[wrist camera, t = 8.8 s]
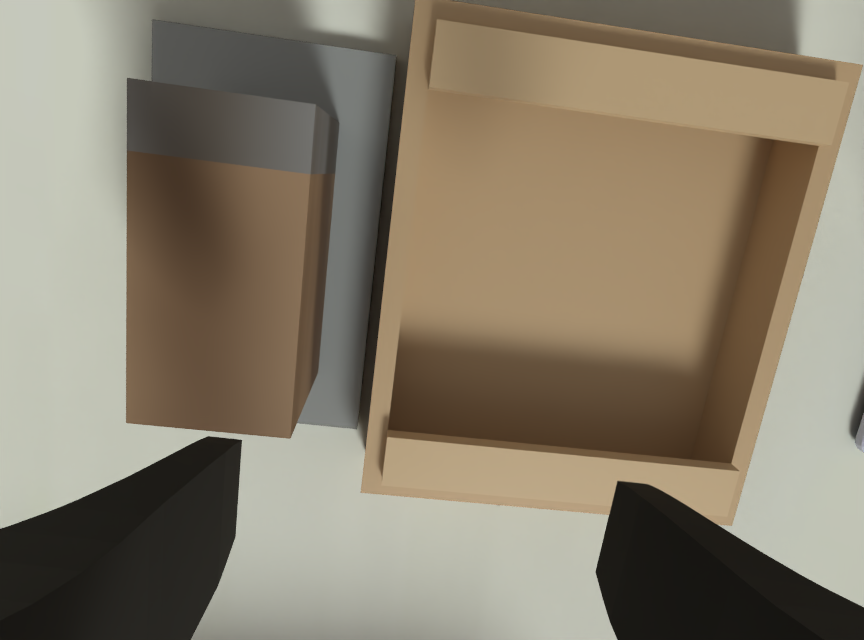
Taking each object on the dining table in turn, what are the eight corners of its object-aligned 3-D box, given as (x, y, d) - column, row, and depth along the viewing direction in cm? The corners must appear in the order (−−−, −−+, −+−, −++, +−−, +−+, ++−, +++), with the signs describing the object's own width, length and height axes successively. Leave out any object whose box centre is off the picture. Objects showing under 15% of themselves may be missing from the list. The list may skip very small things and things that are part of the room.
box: (339, 122, 18) (315, 104, 13) (318, 372, 20) (290, 438, 15) (204, 104, 17) (127, 78, 12) (196, 359, 19) (126, 422, 14)
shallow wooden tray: (800, 79, 18) (877, 61, 15) (693, 484, 22) (740, 534, 19) (413, 20, 17) (416, -11, 14) (365, 453, 21) (359, 501, 18)
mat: (396, 57, 18) (396, 55, 17) (357, 424, 20) (357, 428, 20) (158, 22, 17) (152, 19, 17) (152, 403, 20) (147, 408, 20)
